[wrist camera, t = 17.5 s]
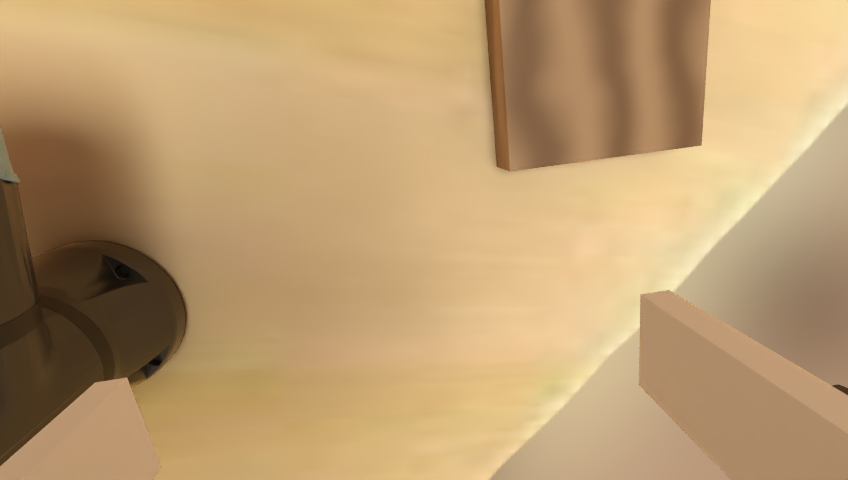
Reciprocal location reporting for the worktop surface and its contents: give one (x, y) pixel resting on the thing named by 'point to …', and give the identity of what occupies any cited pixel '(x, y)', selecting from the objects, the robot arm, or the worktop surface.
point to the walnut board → (595, 78)
